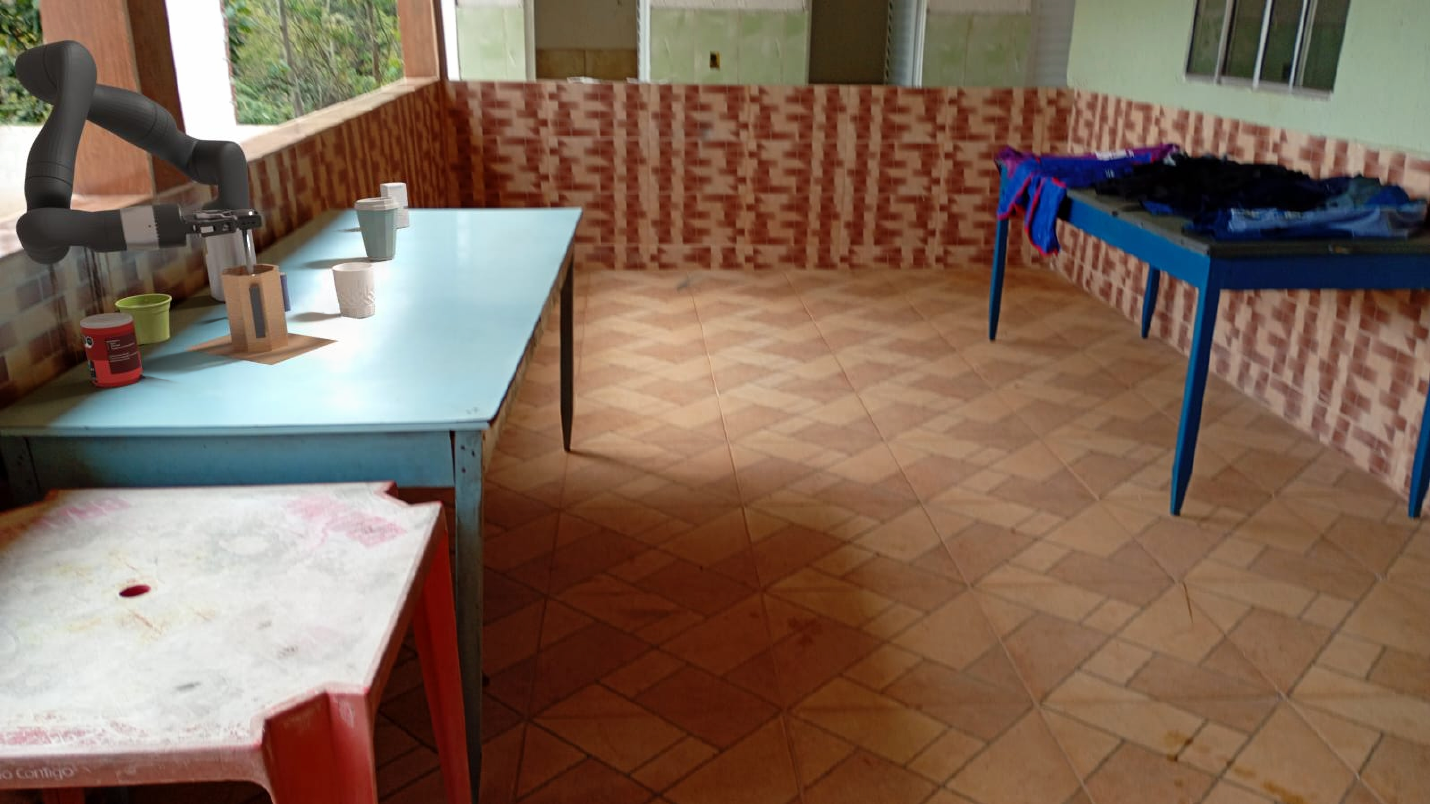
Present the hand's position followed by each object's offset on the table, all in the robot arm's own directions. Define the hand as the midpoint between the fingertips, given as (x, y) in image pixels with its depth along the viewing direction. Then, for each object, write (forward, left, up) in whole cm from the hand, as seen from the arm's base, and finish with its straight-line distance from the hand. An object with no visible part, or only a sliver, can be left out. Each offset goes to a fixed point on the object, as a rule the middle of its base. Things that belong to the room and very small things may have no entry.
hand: (259, 218), depth 202 cm
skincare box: (-60, +101, -24) cm, 120 cm away
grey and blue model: (-20, +17, -24) cm, 36 cm away
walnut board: (-2, -2, -24) cm, 24 cm away
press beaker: (-2, -2, -23) cm, 23 cm away
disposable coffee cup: (-36, +68, -24) cm, 80 cm away
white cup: (-4, +25, -24) cm, 35 cm away
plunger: (-2, -2, -21) cm, 21 cm away
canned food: (-11, -25, -24) cm, 37 cm away
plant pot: (-24, -8, -24) cm, 35 cm away
